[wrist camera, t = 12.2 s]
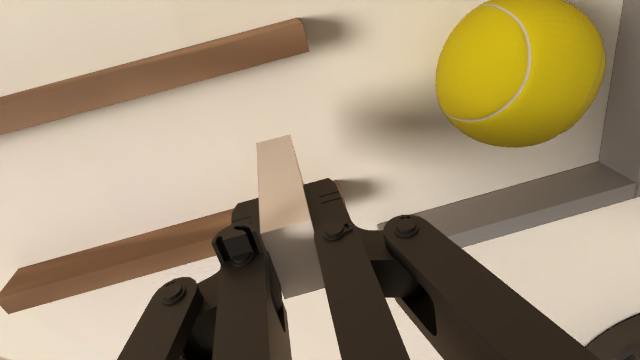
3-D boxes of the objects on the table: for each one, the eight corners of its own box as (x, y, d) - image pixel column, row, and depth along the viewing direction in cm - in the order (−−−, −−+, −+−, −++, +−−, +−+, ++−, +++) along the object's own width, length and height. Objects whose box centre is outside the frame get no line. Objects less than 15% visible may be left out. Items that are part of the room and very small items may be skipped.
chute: (339, 196, 25) (348, 218, 22) (30, 282, 24) (8, 314, 22) (297, 17, 19) (302, 24, 17) (-103, 124, 19) (-149, 145, 17)
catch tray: (612, 172, 27) (650, 193, 25) (379, 238, 27) (393, 267, 24) (676, -187, 18) (750, -214, 15) (317, -93, 17) (328, -104, 15)
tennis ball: (557, 8, 21) (681, 24, 15) (501, 128, 24) (585, 181, 18) (444, -27, 19) (532, -24, 13) (399, 106, 22) (453, 158, 16)
